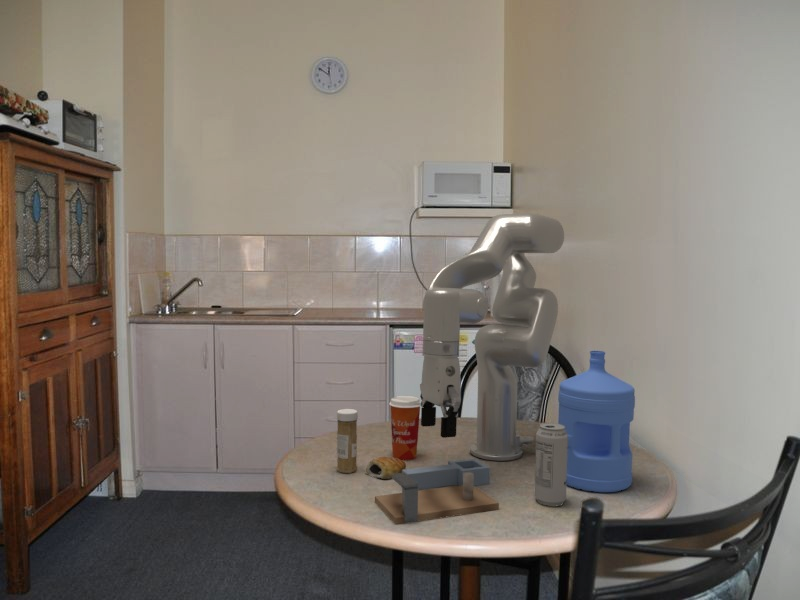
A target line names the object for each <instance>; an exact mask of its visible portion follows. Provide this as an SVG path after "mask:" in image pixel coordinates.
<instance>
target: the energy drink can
mask: <svg viewBox="0 0 800 600" xmlns="http://www.w3.org/2000/svg"><path fill="white" fill-rule="evenodd" d="M535 436H536V437H535V462H534V463H535V465H534V498H536V502H537V503H539V504H540V505H542V504H543V506H546V505H548V506H547V507H557V506H556V505H560V506H562V505H563V504H564V502H565V501H566V499H567V485H566V482H567V450H568V435H567V433H566V431H565V426H563V425H561V424H558V423H556V422H555V423H554V422H543V423H540V424H539V428H538V429H537V432H536V433H535ZM562 503H563V504H562ZM561 504H562V505H561Z"/></svg>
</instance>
